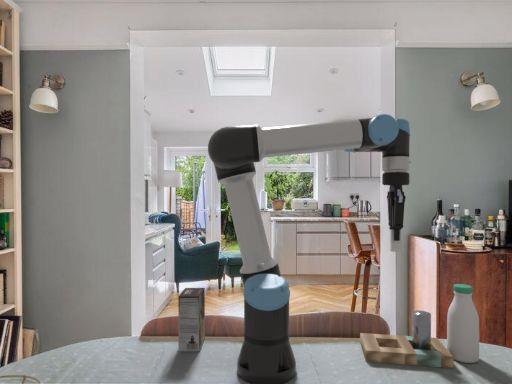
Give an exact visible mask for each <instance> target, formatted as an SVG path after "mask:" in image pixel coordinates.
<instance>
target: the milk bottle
mask: <svg viewBox="0 0 512 384" xmlns="http://www.w3.org/2000/svg"><path fill="white" fill-rule="evenodd" d="M473 289H474V288H473V286H471V285H469V284H464V283H463V284H462V283H456V284H455V283H454V284H453V294H454V296H453V299H452V301H451V303H450V305H449V307H448V310H447V314H446V315H447V318H446V321H447V322H446V349H447V350H448V351H449V352H450V353H451V355H452V356H453V361H454V360H455V361H457V362H460V363H464V364H475V363H477V362H479V361H480V318H479V314H478V313H479V312H478V310H477V308H476V306H475V304H474V301H473V298H472V297H473V296H472V295H473V291H474V290H473Z"/></svg>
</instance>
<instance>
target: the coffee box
mask: <svg viewBox="0 0 512 384" xmlns="http://www.w3.org/2000/svg"><path fill="white" fill-rule="evenodd" d="M205 290H206V287H185V288H184V289H183V290H182V291H181V292H180V294H179V295H178V297H177V298H178V300H177V301H178V306H177V307H178V352H200V351H201V348H202V346H203V343H204V341H205V337H206V336H205V335H206V334H205V333H206V331H205V330H206V329H205V328H206V327H205V326H206V325H205V323H206V321H205V320H206V319H205V316H206V313H205V311H206V310H205V307H206V306H205V305H206V303H205V302H206V301H205V299H206V297H205V296H206V295H205V293H206V291H205Z"/></svg>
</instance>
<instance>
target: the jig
mask: <svg viewBox="0 0 512 384" xmlns="http://www.w3.org/2000/svg"><path fill="white" fill-rule="evenodd" d="M359 343H360V346H361V350H362V353H363V356H364V359H365V362H368V363H380V364H381V363H383V364H393V365H394V364H395V365H404V366H405V365H406V366H418V367H419V366H421V367H431V368H433V367H434V368H445V369H454V359H453V356H452V355H451V353H450V352H449V351H448V350H447V347H446V346H445V345H444V344H443V343H442V342H441V340H440V339H439V338H438V337H431V350H419V349H413V335H411V336H410V335H398V334H386V333H385V334H382V333H381V334H380V333H366V332H365V333H364V332H360V333H359Z"/></svg>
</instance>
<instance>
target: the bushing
mask: <svg viewBox="0 0 512 384" xmlns="http://www.w3.org/2000/svg"><path fill="white" fill-rule="evenodd" d="M412 336H413V349H419V350H431V338H432V314H431V312H428V311H427V310H426V311H425V310H413V311H412Z"/></svg>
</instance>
